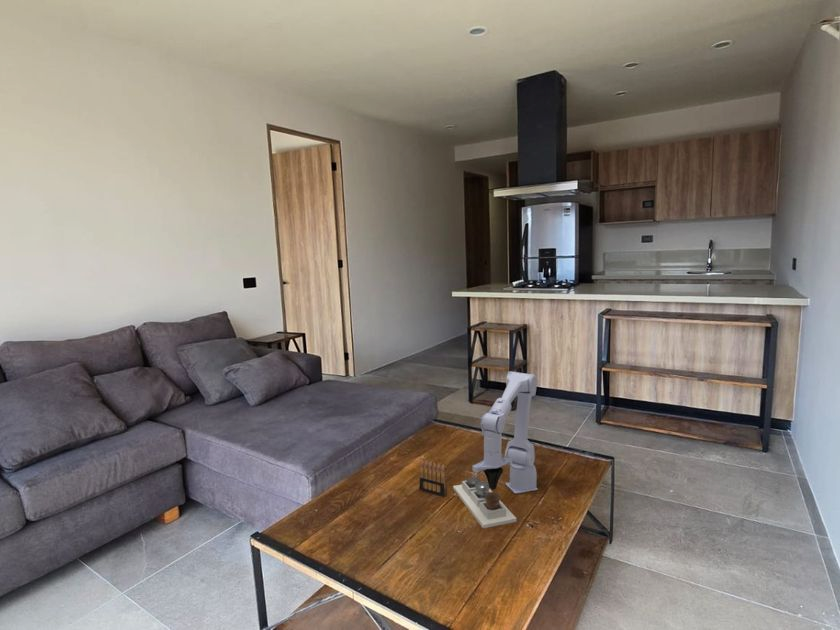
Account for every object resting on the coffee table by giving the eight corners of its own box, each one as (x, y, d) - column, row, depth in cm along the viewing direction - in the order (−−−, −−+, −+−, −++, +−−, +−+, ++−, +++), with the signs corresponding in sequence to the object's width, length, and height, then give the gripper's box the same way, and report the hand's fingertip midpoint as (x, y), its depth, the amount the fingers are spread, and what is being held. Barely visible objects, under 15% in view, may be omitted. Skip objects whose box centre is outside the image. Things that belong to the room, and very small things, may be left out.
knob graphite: (477, 485, 176) (477, 476, 175) (483, 492, 171) (483, 482, 170) (464, 487, 174) (464, 478, 174) (469, 494, 169) (469, 484, 169)
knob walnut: (496, 501, 160) (496, 491, 160) (503, 509, 155) (503, 498, 155) (482, 503, 159) (482, 493, 158) (488, 511, 154) (488, 501, 153)
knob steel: (486, 490, 168) (486, 480, 167) (492, 497, 163) (492, 487, 162) (472, 492, 166) (472, 482, 166) (478, 499, 161) (478, 489, 161)
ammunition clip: (419, 490, 176) (418, 459, 174) (421, 488, 177) (421, 457, 176) (444, 497, 170) (444, 465, 169) (446, 494, 172) (446, 463, 170)
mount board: (482, 484, 179) (482, 474, 179) (516, 521, 154) (516, 511, 153) (453, 488, 176) (453, 479, 176) (482, 528, 150) (482, 517, 150)
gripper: (503, 441, 161) (503, 478, 163) (467, 449, 155) (467, 487, 157) (516, 448, 155) (515, 487, 156) (479, 457, 149) (479, 497, 150)
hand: (492, 488), depth 156 cm, fingers closed
